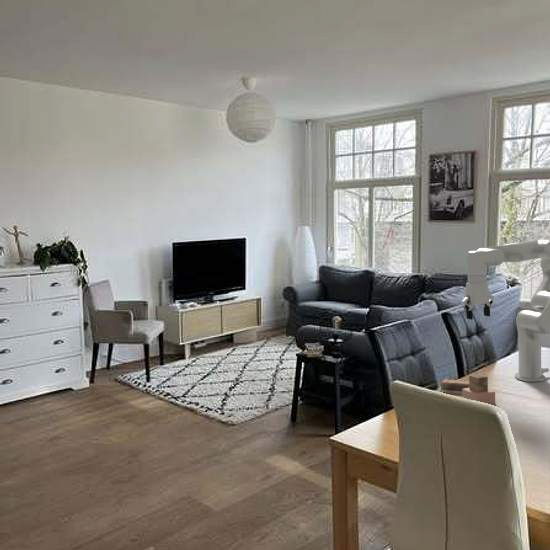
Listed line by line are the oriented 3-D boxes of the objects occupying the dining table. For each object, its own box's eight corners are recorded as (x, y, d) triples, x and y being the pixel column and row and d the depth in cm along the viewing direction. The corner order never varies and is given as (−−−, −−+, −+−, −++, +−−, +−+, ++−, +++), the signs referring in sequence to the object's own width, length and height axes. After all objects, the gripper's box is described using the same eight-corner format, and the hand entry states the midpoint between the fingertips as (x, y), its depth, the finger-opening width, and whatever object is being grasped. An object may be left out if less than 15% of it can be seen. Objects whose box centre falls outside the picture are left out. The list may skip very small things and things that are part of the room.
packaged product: (439, 383, 238) (442, 376, 247) (439, 393, 239) (443, 387, 248) (483, 386, 230) (485, 379, 239) (483, 397, 231) (485, 390, 240)
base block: (479, 397, 230) (479, 385, 230) (495, 403, 222) (495, 391, 221) (462, 400, 227) (462, 388, 227) (477, 407, 219) (477, 394, 218)
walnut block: (479, 387, 227) (479, 373, 227) (487, 390, 222) (487, 376, 222) (469, 389, 225) (469, 375, 225) (477, 392, 221) (477, 378, 220)
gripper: (486, 276, 246) (487, 313, 248) (455, 280, 240) (456, 319, 242) (498, 277, 239) (500, 315, 241) (467, 282, 233) (468, 321, 235)
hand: (478, 317), depth 241 cm, fingers open, 9 cm apart
